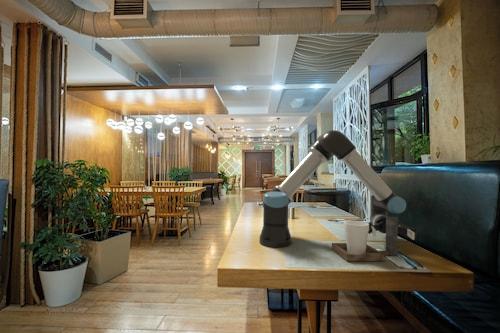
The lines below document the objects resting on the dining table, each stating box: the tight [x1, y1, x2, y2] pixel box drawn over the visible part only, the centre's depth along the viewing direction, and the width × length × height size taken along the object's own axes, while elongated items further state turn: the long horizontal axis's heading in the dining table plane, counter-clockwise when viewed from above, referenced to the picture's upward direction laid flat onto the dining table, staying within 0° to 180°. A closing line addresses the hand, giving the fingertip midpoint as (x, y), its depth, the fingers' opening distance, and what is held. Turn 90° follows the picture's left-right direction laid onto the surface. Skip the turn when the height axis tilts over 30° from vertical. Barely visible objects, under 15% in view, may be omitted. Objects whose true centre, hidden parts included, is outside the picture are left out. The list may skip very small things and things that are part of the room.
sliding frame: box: [331, 216, 399, 262], centre depth 99 cm, size 24×14×15 cm, turn 94°
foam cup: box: [343, 220, 369, 253], centre depth 99 cm, size 10×9×13 cm
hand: (393, 234), depth 97 cm, fingers open, 13 cm apart
